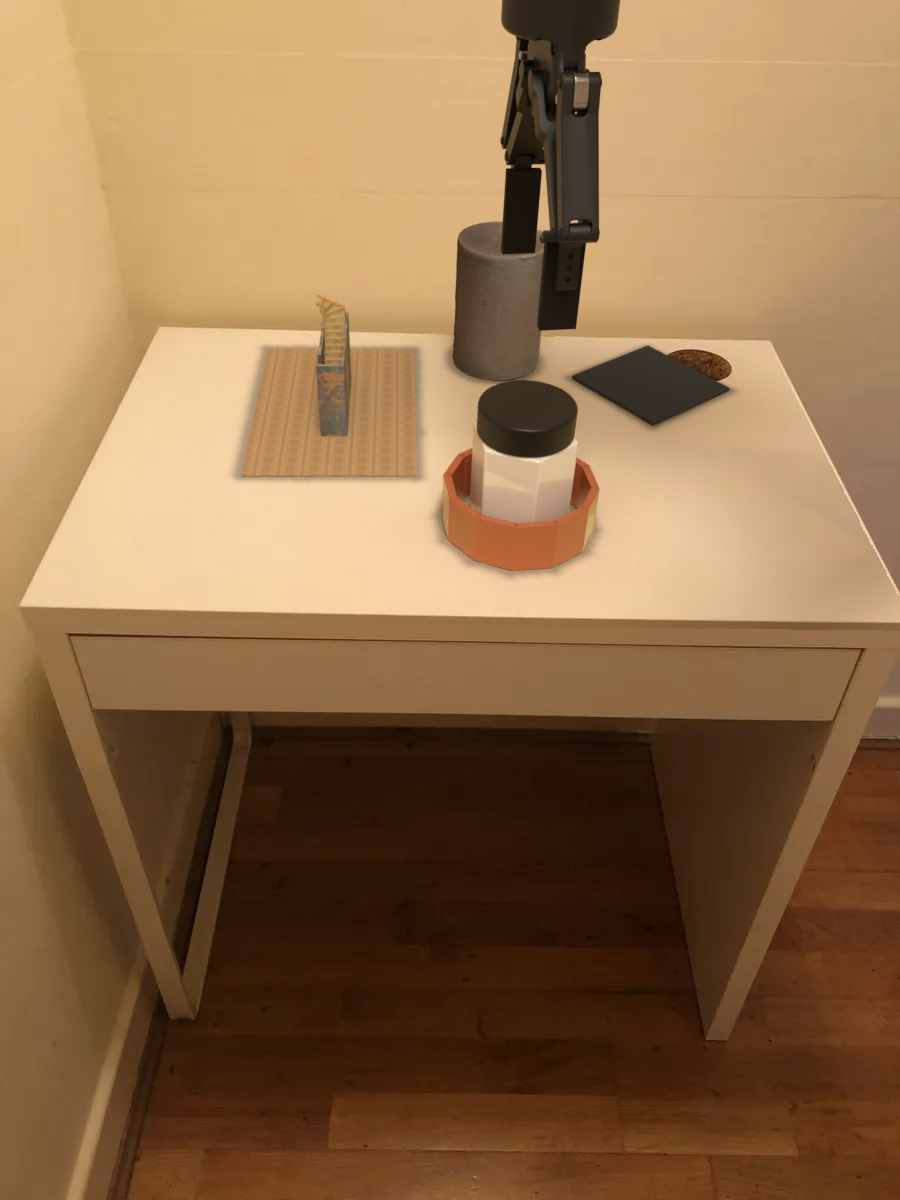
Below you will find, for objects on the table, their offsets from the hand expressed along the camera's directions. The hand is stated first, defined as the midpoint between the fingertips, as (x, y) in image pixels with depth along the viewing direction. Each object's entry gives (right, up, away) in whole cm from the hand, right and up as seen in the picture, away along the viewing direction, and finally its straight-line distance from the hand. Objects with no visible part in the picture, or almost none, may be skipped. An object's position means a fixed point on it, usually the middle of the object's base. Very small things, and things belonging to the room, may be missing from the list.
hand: (535, 287), depth 75 cm
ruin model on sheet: (-18, -4, +26) cm, 32 cm away
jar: (-1, -17, +12) cm, 21 cm away
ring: (-1, -17, +12) cm, 21 cm away
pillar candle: (-1, +3, +34) cm, 34 cm away
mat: (+15, -1, +31) cm, 34 cm away
